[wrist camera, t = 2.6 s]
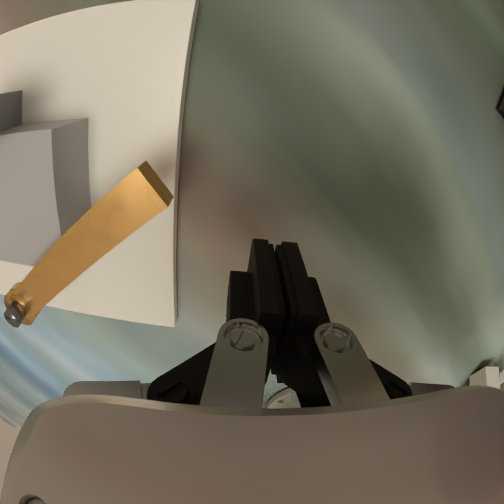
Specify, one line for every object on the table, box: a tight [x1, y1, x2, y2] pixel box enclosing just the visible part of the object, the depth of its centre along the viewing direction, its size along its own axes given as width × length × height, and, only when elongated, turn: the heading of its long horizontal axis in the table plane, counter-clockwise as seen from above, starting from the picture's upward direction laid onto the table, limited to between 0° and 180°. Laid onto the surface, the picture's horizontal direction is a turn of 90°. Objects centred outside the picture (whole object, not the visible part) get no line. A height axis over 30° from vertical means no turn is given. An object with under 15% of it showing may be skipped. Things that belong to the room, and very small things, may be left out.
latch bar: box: [4, 161, 174, 327], centre depth 16 cm, size 18×3×3 cm, turn 122°
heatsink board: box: [0, 0, 199, 327], centre depth 16 cm, size 28×24×10 cm
